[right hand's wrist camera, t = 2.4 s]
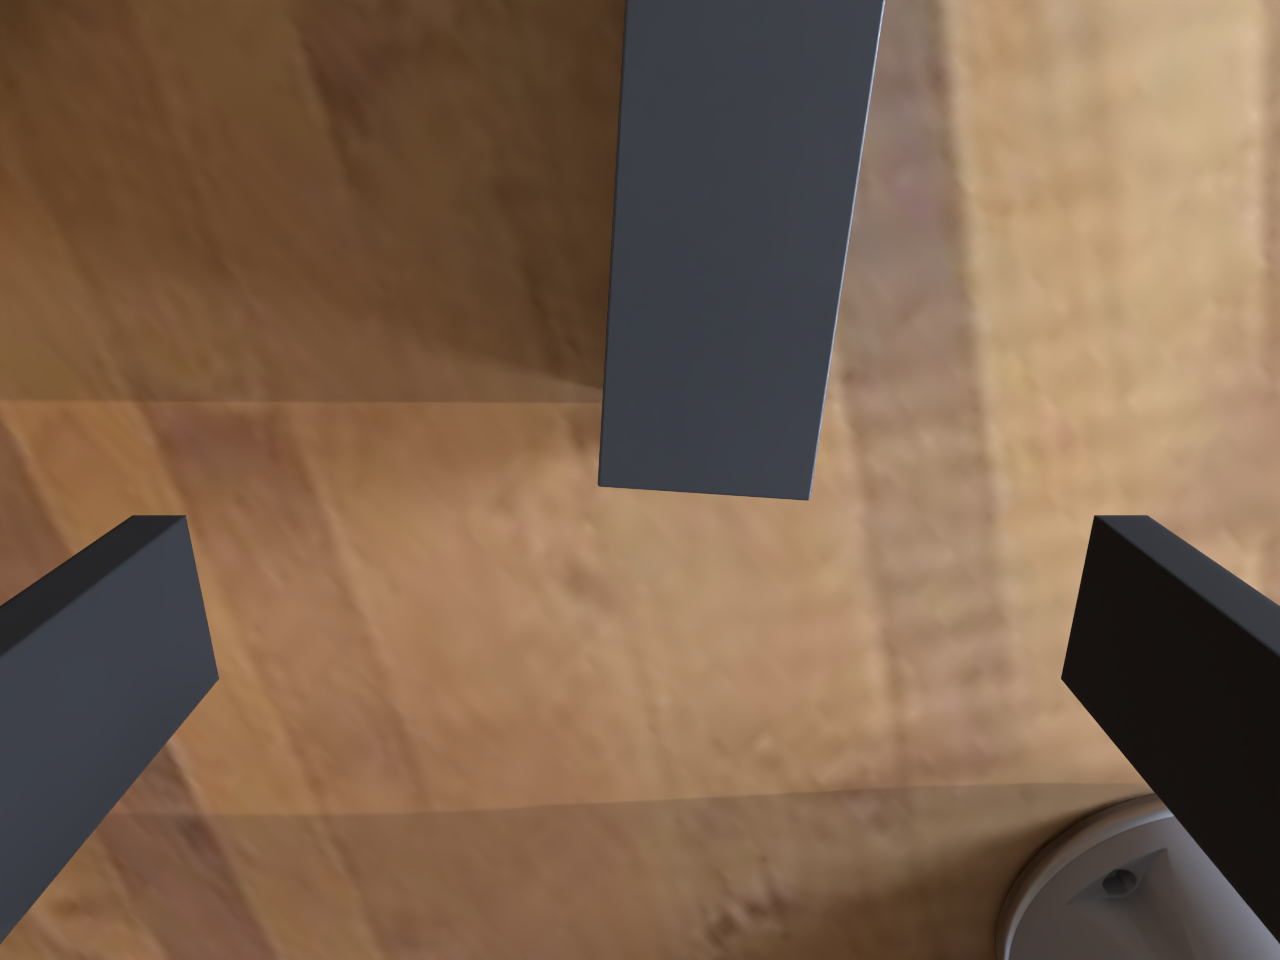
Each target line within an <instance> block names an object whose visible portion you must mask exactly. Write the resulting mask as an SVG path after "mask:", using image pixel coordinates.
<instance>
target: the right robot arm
mask: <svg viewBox="0 0 1280 960" xmlns="http://www.w3.org/2000/svg"><path fill="white" fill-rule="evenodd" d="M218 679H219V676H218V672H217V667H216V662H215V657H214V652H213V647H212V642H211V637H210V632H209V627H208V623H207V618H206V613H205V608H204V603H203V598H202V593H201V588H200V583H199V578H198V574H197V569H196V564H195V559H194V554H193V549H192V544H191V539H190V534H189V529H188V525H187V520H186V515H133V516H131V517H130V518H128V519H127V520H125V521H124V522H122V523H121V524H119V525H118V526H117V527H115V528H114V529H112V530H111V531H109V532H108V533H106V534H105V535H103V536H102V537H100V538H99V539H98V540H96V541H95V542H93V543H92V544H90V545H89V546H87V547H86V548H84V549H83V550H82V551H80V552H79V553H77V554H76V555H74V556H73V557H71V558H70V559H68V560H67V561H65V562H64V563H63V564H61V565H60V566H58V567H57V568H55V569H54V570H52V571H51V572H49V573H48V574H46V575H45V576H44V577H42V578H41V579H39V580H38V581H36V582H35V583H33V584H32V585H30V586H29V587H28V588H26V589H25V590H23V591H22V592H20V593H19V594H17V595H16V596H14V597H13V598H11V599H10V600H9V601H7V602H6V603H4V604H3V605H1V606H0V944H1V943H2V941H3V940H4V939H5V938H6V936H7V935H8V934H9V933H10V932H11V930H12V929H13V928H14V927H15V926H16V924H17V923H18V922H19V921H20V919H21V918H22V917H23V916H24V915H25V913H26V912H27V911H28V910H29V909H30V907H31V906H32V905H33V904H34V903H35V901H36V900H37V899H38V898H39V896H40V895H41V894H42V893H43V892H44V890H45V889H46V888H47V887H48V886H49V884H50V883H51V882H52V881H53V879H54V878H55V877H56V876H57V875H58V873H59V872H60V871H61V870H62V869H63V867H64V866H65V865H66V864H67V862H68V861H69V860H70V859H71V858H72V856H73V855H74V854H75V853H76V852H77V850H78V849H79V848H80V847H81V845H82V844H83V843H84V842H85V841H86V839H87V838H88V837H89V836H90V835H91V833H92V832H93V831H94V830H95V828H96V827H97V826H98V825H99V824H100V822H101V821H102V820H103V819H104V818H105V816H106V815H107V814H108V813H109V812H110V810H111V809H112V808H113V807H114V805H115V804H116V803H117V802H118V801H119V799H120V798H121V797H122V796H123V795H124V793H125V792H126V791H127V790H128V788H129V787H130V786H131V785H132V784H133V782H134V781H135V780H136V779H137V778H138V776H139V775H140V774H141V773H142V771H143V770H144V769H145V768H146V767H147V765H148V764H149V763H150V762H151V761H152V759H153V758H154V757H155V756H156V754H157V753H158V752H159V751H160V750H161V748H162V747H163V746H164V745H165V744H166V742H167V741H168V740H169V739H170V737H171V736H172V735H173V734H174V733H175V731H176V730H177V729H178V728H179V727H180V725H181V724H182V723H183V722H184V720H185V719H186V718H187V717H188V716H189V714H190V713H191V712H192V711H193V710H194V708H195V707H196V706H197V705H198V704H199V702H200V701H201V700H202V699H203V697H204V696H205V695H206V694H207V693H208V691H209V690H210V689H211V688H212V687H213V685H214V684H215V683H216V682H217V680H218ZM1061 679H1062V680H1063V682H1064V683H1065V684H1066V685H1067V687H1068V688H1069V689H1070V690H1071V691H1072V693H1073V694H1074V695H1075V696H1076V697H1077V699H1078V700H1079V701H1080V702H1081V704H1082V705H1083V706H1084V707H1085V708H1086V710H1087V711H1088V712H1089V713H1090V714H1091V716H1092V717H1093V718H1094V719H1095V720H1096V722H1097V723H1098V724H1099V725H1100V727H1101V728H1102V729H1103V730H1104V731H1105V733H1106V734H1107V735H1108V736H1109V737H1110V739H1111V740H1112V741H1113V742H1114V744H1115V745H1116V746H1117V747H1118V748H1119V750H1120V751H1121V752H1122V753H1123V754H1124V756H1125V757H1126V758H1127V759H1128V761H1129V762H1130V763H1131V764H1132V765H1133V767H1134V768H1135V769H1136V770H1137V771H1138V773H1139V774H1140V775H1141V776H1142V778H1143V779H1144V780H1145V781H1146V782H1147V784H1148V785H1149V786H1150V787H1151V788H1152V790H1153V791H1154V792H1155V793H1156V794H1151V795H1147V796H1142V797H1139V798H1136V799H1132V800H1129V801H1125V802H1123V803H1120V804H1117V805H1115V806H1112V807H1109V808H1107V809H1105V810H1103V811H1100V812H1098V813H1096V814H1094V815H1092V816H1090V817H1088V818H1086V819H1085V820H1083V821H1081V822H1079V823H1077V824H1076V825H1074V826H1073V827H1071V828H1070V829H1068V830H1067V831H1065V832H1063V833H1062V834H1061V835H1059V836H1058V837H1057V838H1056V839H1054V840H1053V841H1052V842H1050V843H1049V844H1048V845H1047V846H1046V847H1045V848H1044V849H1042V850H1041V851H1040V852H1039V853H1038V854H1037V855H1036V856H1035V857H1034V858H1033V859H1032V860H1031V862H1030V863H1029V864H1028V865H1027V866H1026V867H1025V869H1024V870H1023V871H1022V872H1021V874H1020V875H1019V876H1018V878H1017V879H1016V881H1015V882H1014V884H1013V886H1012V887H1011V889H1010V891H1009V893H1008V895H1007V897H1006V899H1005V901H1004V903H1003V906H1002V909H1001V912H1000V915H999V919H998V923H997V929H996V955H997V960H1280V606H1279V605H1277V604H1276V603H1274V602H1273V601H1271V600H1270V599H1269V598H1267V597H1266V596H1264V595H1263V594H1261V593H1260V592H1258V591H1257V590H1255V589H1254V588H1252V587H1251V586H1250V585H1248V584H1247V583H1245V582H1244V581H1242V580H1241V579H1239V578H1238V577H1236V576H1235V575H1234V574H1232V573H1231V572H1229V571H1228V570H1226V569H1225V568H1223V567H1222V566H1220V565H1219V564H1217V563H1216V562H1215V561H1213V560H1212V559H1210V558H1209V557H1207V556H1206V555H1204V554H1203V553H1201V552H1200V551H1198V550H1197V549H1196V548H1194V547H1193V546H1191V545H1190V544H1188V543H1187V542H1185V541H1184V540H1182V539H1181V538H1180V537H1178V536H1177V535H1175V534H1174V533H1172V532H1171V531H1169V530H1168V529H1166V528H1165V527H1163V526H1162V525H1161V524H1159V523H1158V522H1156V521H1155V520H1153V519H1152V518H1150V517H1149V516H1147V515H1094V520H1093V525H1092V529H1091V534H1090V539H1089V544H1088V549H1087V554H1086V559H1085V564H1084V569H1083V574H1082V578H1081V583H1080V588H1079V593H1078V598H1077V603H1076V608H1075V613H1074V618H1073V623H1072V627H1071V632H1070V637H1069V642H1068V647H1067V652H1066V657H1065V662H1064V667H1063V672H1062V676H1061Z"/></svg>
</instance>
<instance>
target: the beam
mask: <svg viewBox="0 0 1280 960" xmlns="http://www.w3.org/2000/svg"><path fill="white" fill-rule="evenodd" d="M884 4H885V0H625V15H624V33H623V50H622V68H621V85H620V103H619V120H618V138H617V155H616V173H615V191H614V208H613V226H612V243H611V261H610V278H609V296H608V313H607V331H606V348H605V366H604V383H603V401H602V418H601V436H600V454H599V471H598V486H600V487H615V488H630V489H644V490H659V491H674V492H689V493H704V494H719V495H734V496H749V497H764V498H779V499H794V500H809V499H810V496H811V490H812V483H813V476H814V470H815V463H816V456H817V450H818V443H819V436H820V430H821V423H822V416H823V410H824V403H825V397H826V390H827V383H828V377H829V370H830V363H831V357H832V350H833V343H834V337H835V330H836V323H837V317H838V310H839V304H840V297H841V290H842V284H843V277H844V270H845V264H846V257H847V250H848V244H849V237H850V230H851V224H852V217H853V210H854V204H855V197H856V191H857V184H858V177H859V171H860V164H861V157H862V151H863V144H864V137H865V131H866V124H867V117H868V111H869V104H870V98H871V91H872V84H873V78H874V71H875V64H876V58H877V51H878V44H879V38H880V31H881V24H882V18H883V11H884Z"/></svg>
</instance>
